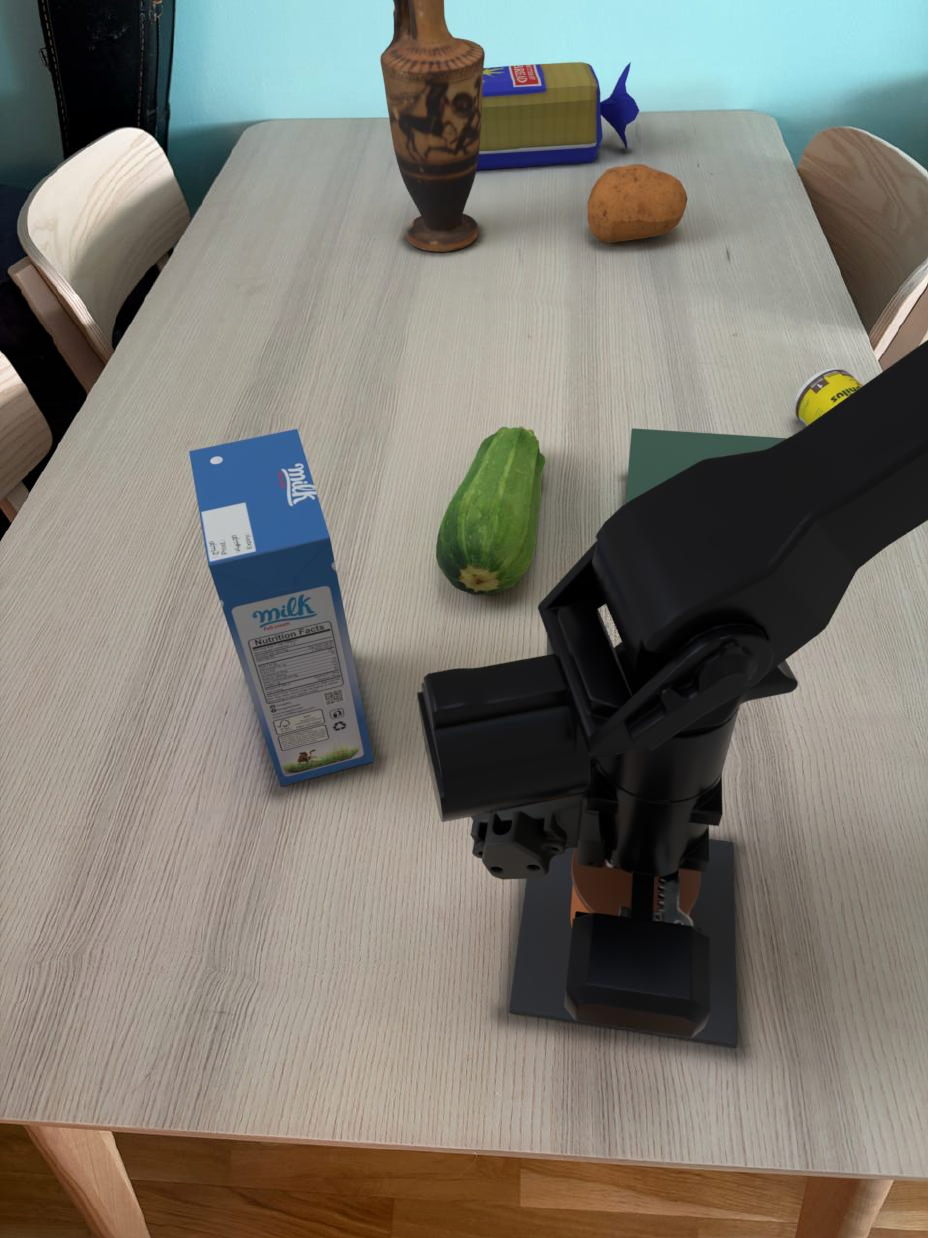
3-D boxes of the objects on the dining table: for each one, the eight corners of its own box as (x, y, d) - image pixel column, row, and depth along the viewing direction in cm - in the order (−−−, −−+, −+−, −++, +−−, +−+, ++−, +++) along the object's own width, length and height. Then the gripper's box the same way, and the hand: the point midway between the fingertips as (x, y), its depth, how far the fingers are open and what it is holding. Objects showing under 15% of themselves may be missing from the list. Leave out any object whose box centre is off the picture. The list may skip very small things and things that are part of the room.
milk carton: (373, 762, 64) (330, 537, 49) (280, 787, 63) (207, 565, 48) (343, 654, 71) (296, 427, 56) (258, 675, 70) (188, 449, 55)
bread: (441, 145, 133) (436, 62, 126) (622, 133, 133) (628, 50, 126) (444, 176, 126) (440, 91, 119) (635, 163, 126) (642, 77, 119)
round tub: (687, 875, 57) (701, 821, 53) (685, 987, 53) (700, 938, 48) (573, 861, 58) (577, 806, 54) (562, 969, 54) (565, 920, 49)
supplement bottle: (856, 360, 84) (931, 426, 78) (835, 415, 88) (905, 482, 81) (801, 368, 83) (873, 436, 76) (782, 423, 87) (849, 492, 80)
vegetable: (446, 525, 67) (507, 369, 80) (409, 585, 72) (471, 429, 86) (539, 573, 68) (583, 411, 81) (495, 629, 73) (544, 468, 87)
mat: (732, 846, 59) (733, 841, 58) (736, 1048, 51) (737, 1045, 50) (535, 821, 61) (535, 817, 60) (508, 1013, 53) (508, 1010, 52)
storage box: (776, 486, 81) (788, 437, 78) (782, 563, 75) (795, 514, 71) (627, 475, 83) (631, 427, 80) (620, 550, 77) (625, 502, 73)
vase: (507, 239, 114) (504, -69, 92) (429, 267, 110) (406, -47, 88) (455, 207, 120) (440, -88, 98) (380, 233, 116) (347, -68, 94)
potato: (585, 217, 117) (588, 152, 111) (680, 216, 116) (688, 151, 110) (586, 253, 110) (589, 187, 105) (686, 253, 109) (695, 186, 104)
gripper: (507, 583, 50) (509, 757, 62) (442, 919, 38) (460, 1059, 49) (727, 602, 49) (688, 777, 60) (735, 960, 36) (683, 1095, 48)
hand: (630, 910), depth 54 cm, fingers closed on round tub, 6 cm apart
